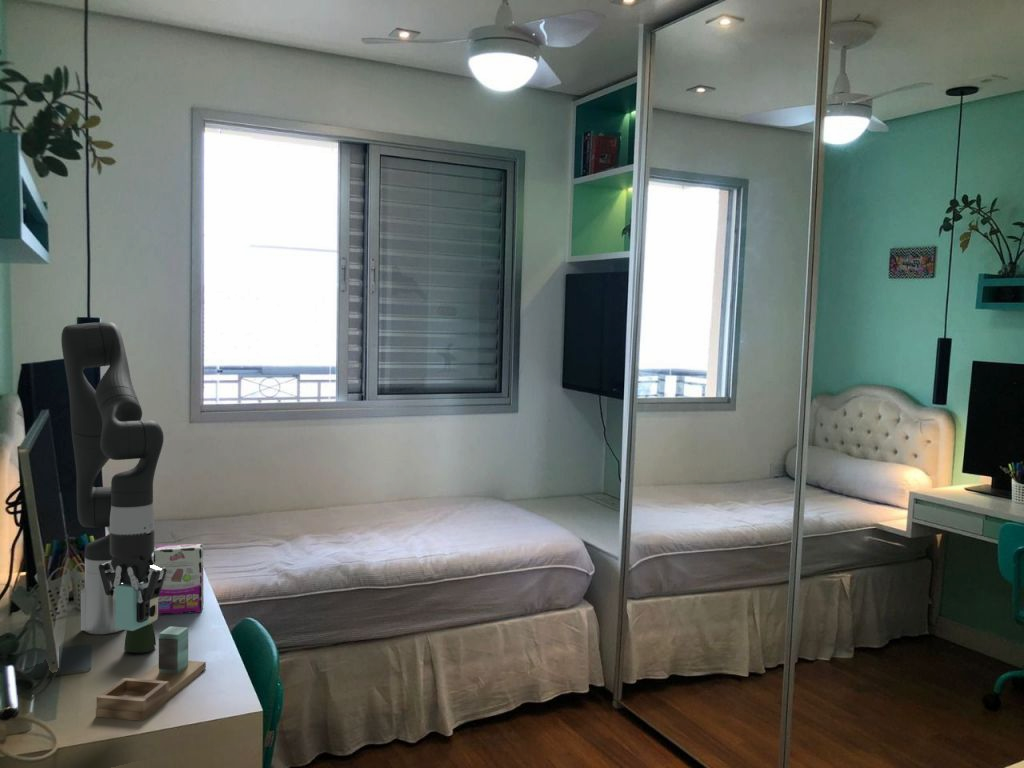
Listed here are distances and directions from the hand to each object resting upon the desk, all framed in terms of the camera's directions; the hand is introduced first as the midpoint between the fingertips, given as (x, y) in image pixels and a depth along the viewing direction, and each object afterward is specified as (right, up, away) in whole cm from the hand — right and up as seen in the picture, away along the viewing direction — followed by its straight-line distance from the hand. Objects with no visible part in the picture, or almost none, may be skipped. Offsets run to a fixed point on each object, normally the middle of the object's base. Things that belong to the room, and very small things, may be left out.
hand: (132, 619), depth 151 cm
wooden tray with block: (+1, -16, +7) cm, 17 cm away
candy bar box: (-13, -13, +52) cm, 55 cm away
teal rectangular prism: (0, -1, 0) cm, 1 cm away
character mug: (-11, -15, +26) cm, 32 cm away
